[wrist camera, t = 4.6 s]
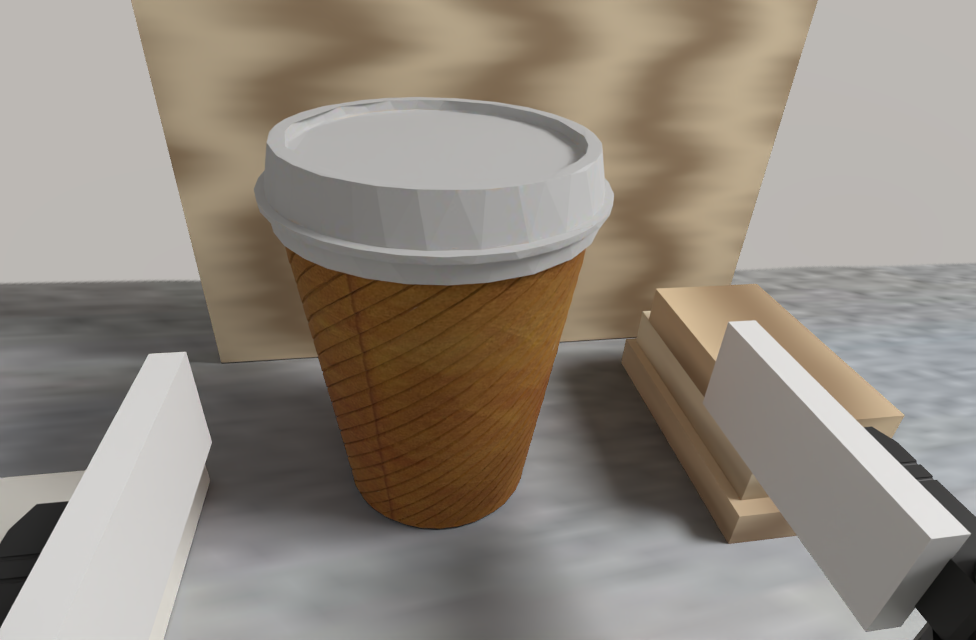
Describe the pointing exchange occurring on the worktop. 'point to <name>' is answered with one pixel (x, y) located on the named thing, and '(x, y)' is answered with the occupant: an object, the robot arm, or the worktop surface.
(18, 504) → the white square coaster
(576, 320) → the pine panel
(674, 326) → the offcut stack
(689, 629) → the worktop surface
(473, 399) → the disposable coffee cup
